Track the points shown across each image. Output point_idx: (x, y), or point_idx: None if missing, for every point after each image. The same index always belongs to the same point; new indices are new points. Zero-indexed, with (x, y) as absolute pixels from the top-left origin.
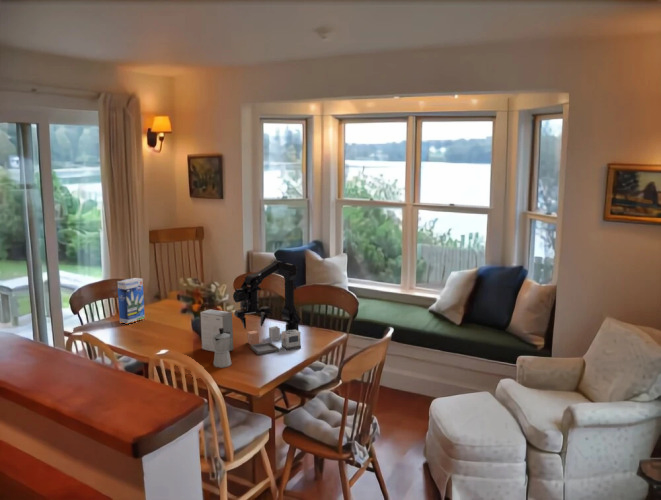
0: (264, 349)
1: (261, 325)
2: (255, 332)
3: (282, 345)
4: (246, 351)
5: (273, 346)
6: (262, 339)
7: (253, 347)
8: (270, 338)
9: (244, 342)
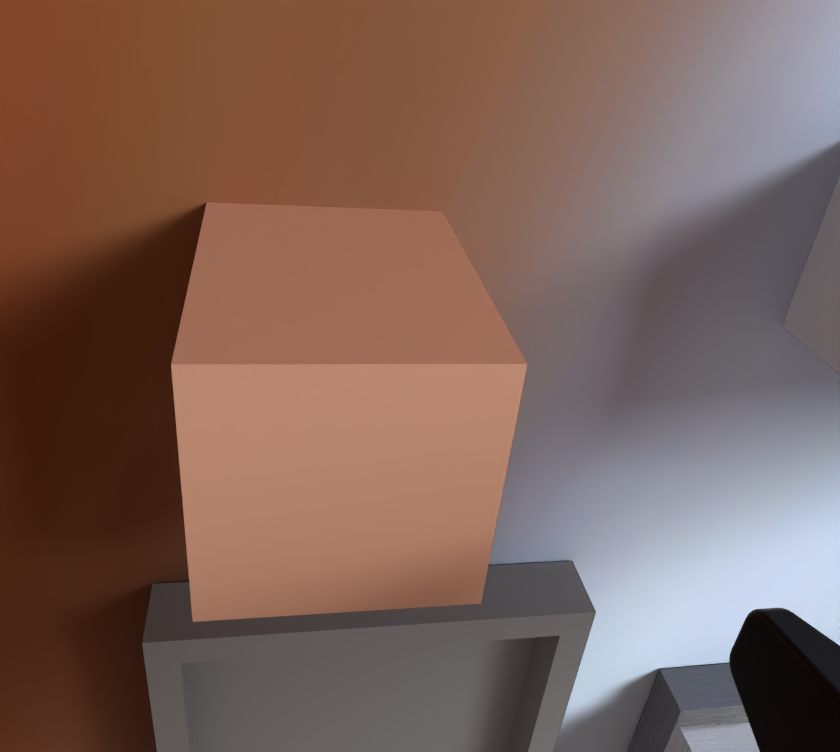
0: (344, 741)
1: (747, 716)
2: (416, 539)
3: (664, 727)
4: (15, 676)
5: (521, 731)
6: (652, 166)
7: (156, 733)
8: (828, 222)
9: (107, 147)
